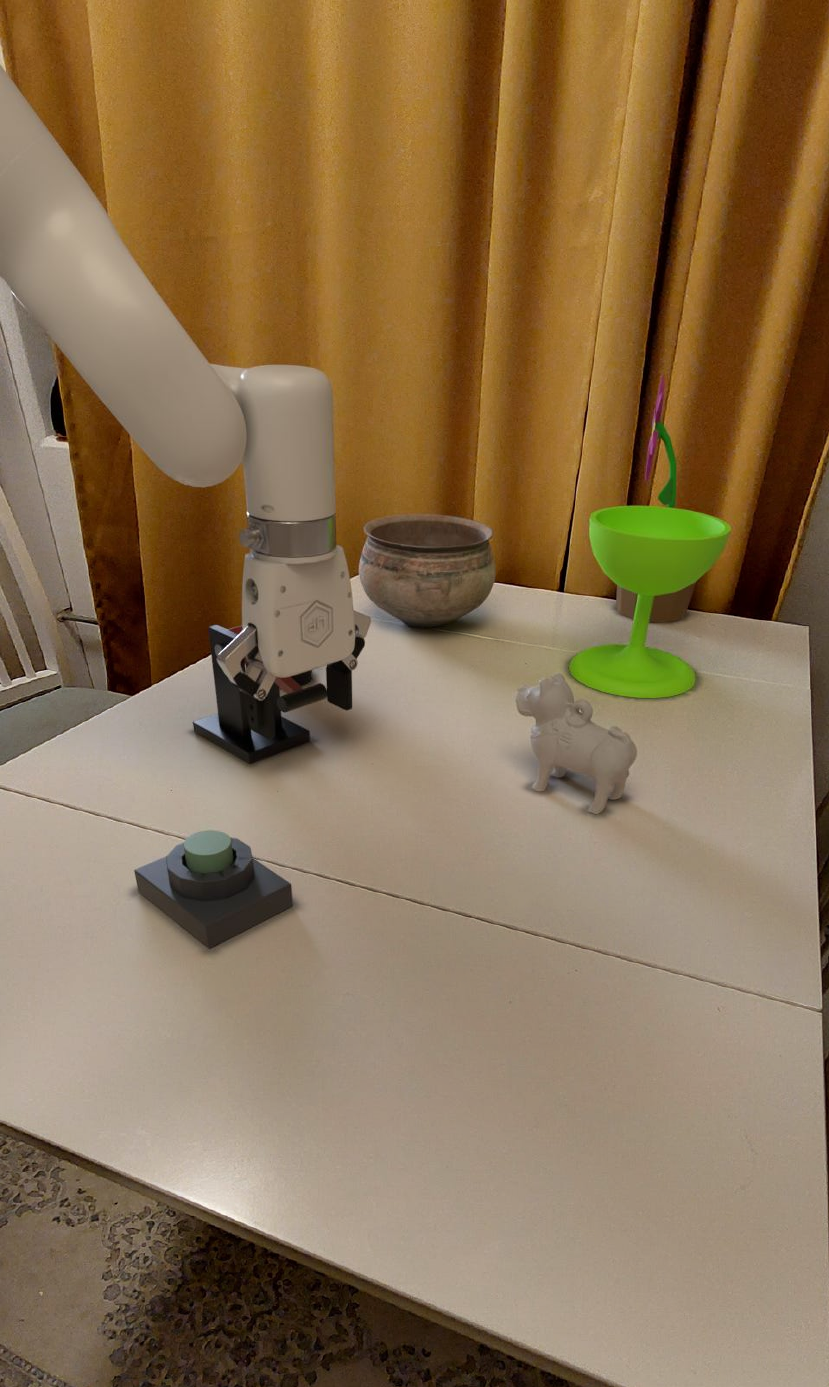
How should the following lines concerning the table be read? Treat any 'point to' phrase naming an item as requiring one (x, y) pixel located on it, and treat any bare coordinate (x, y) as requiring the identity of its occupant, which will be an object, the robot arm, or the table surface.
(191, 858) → the power button
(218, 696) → the black lever stand
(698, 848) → the table surface
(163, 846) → the table surface
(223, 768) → the table surface
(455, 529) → the cooking pot
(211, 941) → the base
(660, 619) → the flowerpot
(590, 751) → the dog figurine
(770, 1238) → the table surface
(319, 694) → the lever handle
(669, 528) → the wineglass
